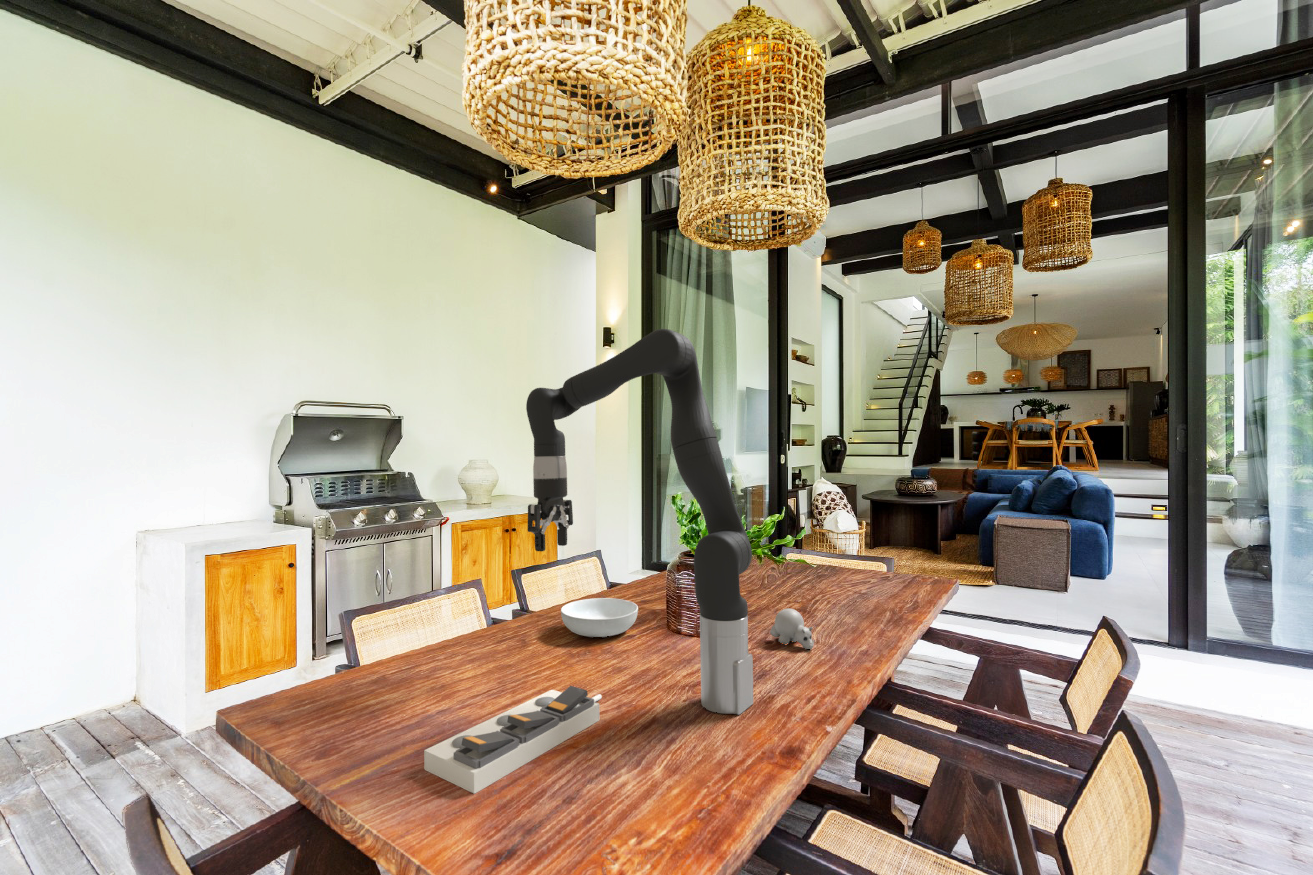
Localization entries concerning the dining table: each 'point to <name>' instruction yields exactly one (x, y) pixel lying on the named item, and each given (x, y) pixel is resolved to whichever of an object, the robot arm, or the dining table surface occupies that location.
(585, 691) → the rocker near cord
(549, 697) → the power strip
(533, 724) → the middle rocker
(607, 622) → the serving bowl
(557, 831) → the dining table surface
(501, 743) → the rocker far end
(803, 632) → the chubby cartoon animal
